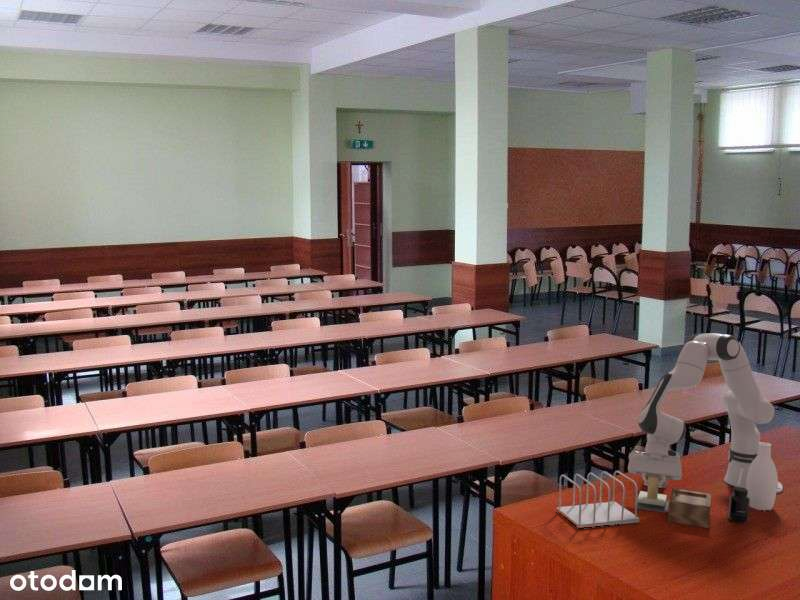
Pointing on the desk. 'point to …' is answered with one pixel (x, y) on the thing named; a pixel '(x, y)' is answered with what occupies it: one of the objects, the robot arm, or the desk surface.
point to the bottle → (762, 479)
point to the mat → (653, 507)
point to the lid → (652, 493)
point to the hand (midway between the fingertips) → (652, 485)
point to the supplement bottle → (739, 505)
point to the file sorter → (598, 506)
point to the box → (689, 508)
